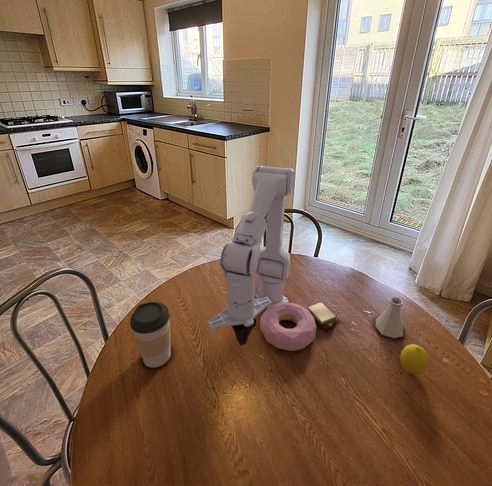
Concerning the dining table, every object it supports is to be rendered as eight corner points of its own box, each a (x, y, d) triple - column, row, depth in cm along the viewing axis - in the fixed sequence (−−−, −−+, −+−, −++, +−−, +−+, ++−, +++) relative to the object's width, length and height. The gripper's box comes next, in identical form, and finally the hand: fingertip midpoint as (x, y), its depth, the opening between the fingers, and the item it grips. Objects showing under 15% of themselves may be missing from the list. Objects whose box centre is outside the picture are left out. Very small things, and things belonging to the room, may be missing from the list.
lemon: (420, 364, 71) (429, 341, 68) (425, 385, 67) (434, 360, 63) (395, 358, 73) (403, 334, 70) (398, 377, 68) (406, 353, 65)
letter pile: (302, 316, 86) (303, 310, 85) (317, 306, 90) (318, 300, 89) (325, 334, 80) (326, 327, 79) (340, 321, 84) (341, 315, 83)
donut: (249, 337, 79) (249, 323, 77) (275, 304, 91) (276, 291, 89) (302, 365, 71) (304, 351, 69) (324, 325, 83) (326, 312, 81)
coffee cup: (182, 347, 76) (176, 303, 70) (159, 377, 69) (150, 330, 63) (155, 336, 80) (147, 293, 74) (130, 363, 72) (119, 317, 66)
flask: (397, 319, 85) (405, 292, 80) (407, 339, 78) (416, 311, 74) (371, 317, 85) (377, 290, 81) (379, 337, 79) (387, 309, 74)
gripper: (216, 320, 55) (219, 369, 60) (280, 294, 61) (277, 341, 67) (202, 297, 60) (206, 344, 66) (262, 276, 67) (261, 320, 72)
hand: (241, 341), depth 67 cm, fingers closed
